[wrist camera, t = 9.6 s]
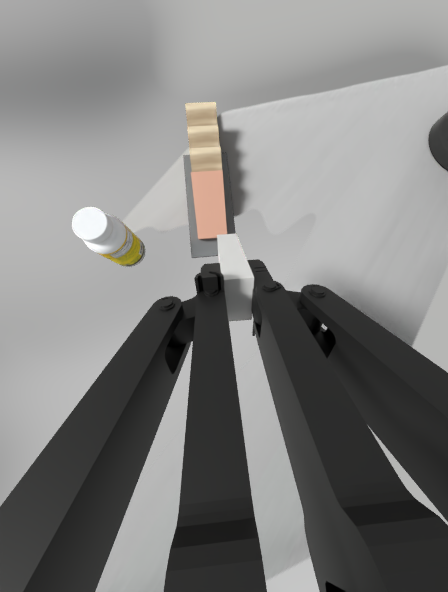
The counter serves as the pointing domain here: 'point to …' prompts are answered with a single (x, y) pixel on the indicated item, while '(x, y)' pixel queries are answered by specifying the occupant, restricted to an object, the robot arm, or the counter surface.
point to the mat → (197, 245)
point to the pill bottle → (108, 236)
